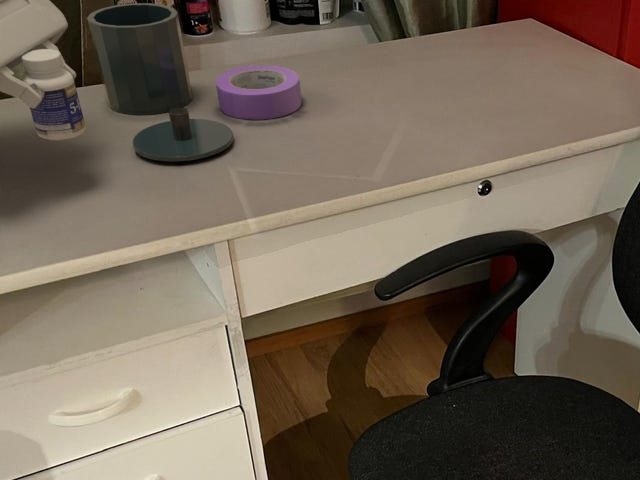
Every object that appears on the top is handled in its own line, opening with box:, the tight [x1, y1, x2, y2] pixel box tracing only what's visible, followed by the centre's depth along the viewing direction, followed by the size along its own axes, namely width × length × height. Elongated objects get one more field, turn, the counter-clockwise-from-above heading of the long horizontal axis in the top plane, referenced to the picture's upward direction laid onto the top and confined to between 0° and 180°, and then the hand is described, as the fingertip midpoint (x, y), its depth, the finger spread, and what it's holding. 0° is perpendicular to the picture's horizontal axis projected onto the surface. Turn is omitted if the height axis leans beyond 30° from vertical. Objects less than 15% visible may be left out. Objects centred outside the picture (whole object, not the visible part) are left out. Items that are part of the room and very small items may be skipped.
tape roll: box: [215, 64, 303, 121], centre depth 124 cm, size 12×12×4 cm
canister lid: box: [132, 107, 234, 162], centre depth 112 cm, size 13×13×5 cm
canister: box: [86, 2, 193, 116], centre depth 122 cm, size 12×12×12 cm
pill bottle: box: [22, 49, 87, 141], centre depth 97 cm, size 5×5×9 cm
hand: (56, 91), depth 97 cm, fingers closed on pill bottle, 5 cm apart
